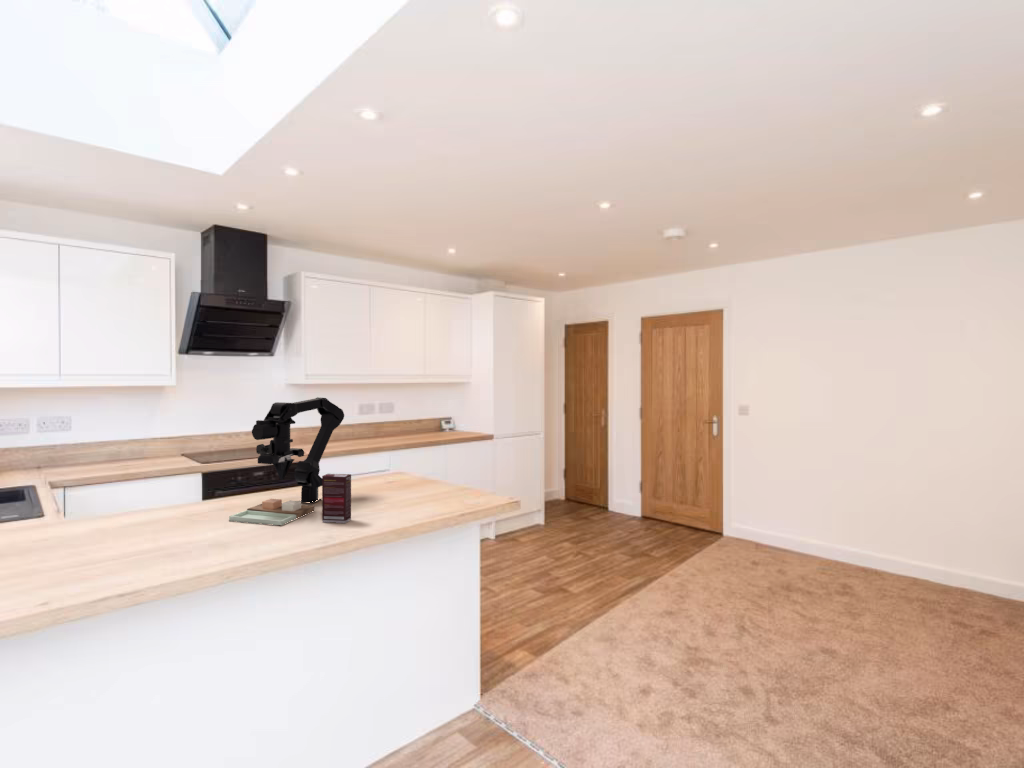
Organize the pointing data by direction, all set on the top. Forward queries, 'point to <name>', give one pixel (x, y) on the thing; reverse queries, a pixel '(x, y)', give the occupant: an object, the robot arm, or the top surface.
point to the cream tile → (291, 505)
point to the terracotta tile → (271, 504)
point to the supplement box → (336, 498)
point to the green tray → (262, 517)
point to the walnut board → (298, 513)
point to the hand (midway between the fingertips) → (281, 479)
